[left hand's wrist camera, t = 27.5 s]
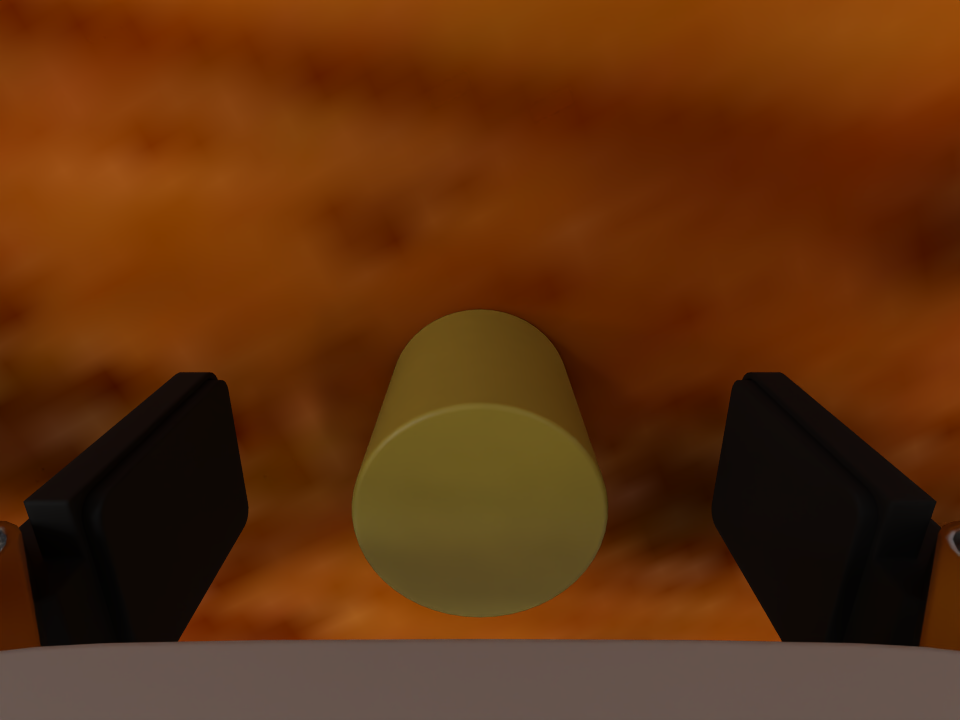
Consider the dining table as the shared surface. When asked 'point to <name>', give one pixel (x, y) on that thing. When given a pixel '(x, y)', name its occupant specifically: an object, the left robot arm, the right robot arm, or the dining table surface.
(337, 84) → the dining table surface
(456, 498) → the tin
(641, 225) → the dining table surface
